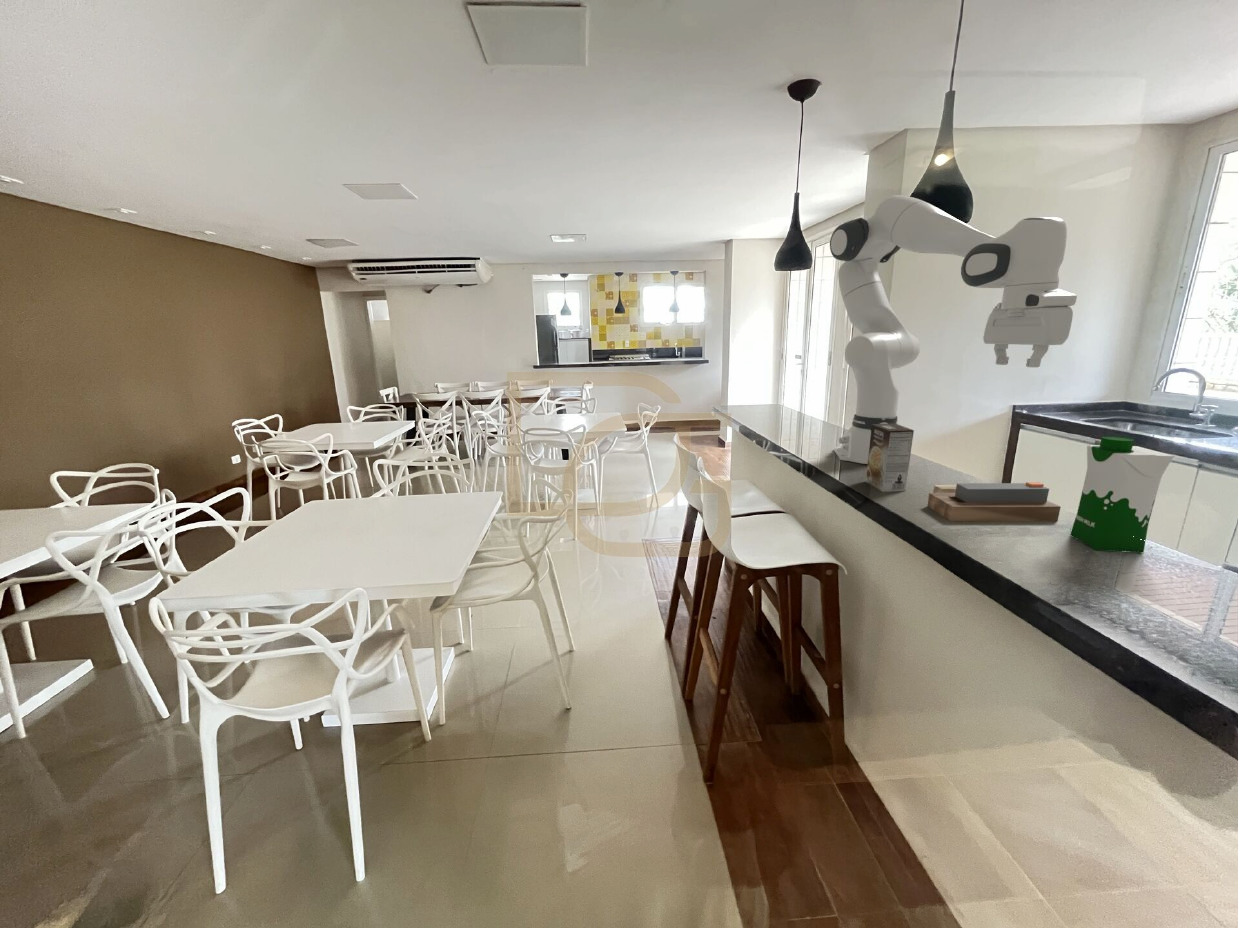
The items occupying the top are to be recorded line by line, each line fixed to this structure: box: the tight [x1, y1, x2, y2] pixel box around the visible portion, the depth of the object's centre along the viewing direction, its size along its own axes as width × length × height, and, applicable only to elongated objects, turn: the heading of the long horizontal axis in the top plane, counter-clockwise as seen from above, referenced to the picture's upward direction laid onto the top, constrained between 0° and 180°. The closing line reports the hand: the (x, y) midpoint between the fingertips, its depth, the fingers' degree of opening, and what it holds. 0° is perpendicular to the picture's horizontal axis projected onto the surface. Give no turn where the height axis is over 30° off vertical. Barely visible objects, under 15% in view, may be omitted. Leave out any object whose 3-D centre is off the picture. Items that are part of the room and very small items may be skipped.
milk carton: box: [1070, 435, 1174, 554], centre depth 86 cm, size 9×9×20 cm
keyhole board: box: [926, 492, 1061, 522], centre depth 103 cm, size 9×21×4 cm, turn 85°
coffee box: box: [865, 423, 915, 493], centre depth 122 cm, size 9×6×16 cm
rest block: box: [932, 484, 957, 493], centre depth 115 cm, size 3×7×2 cm, turn 85°
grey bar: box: [955, 481, 1050, 503], centre depth 103 cm, size 4×16×6 cm, turn 85°
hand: (1016, 366), depth 105 cm, fingers open, 8 cm apart
